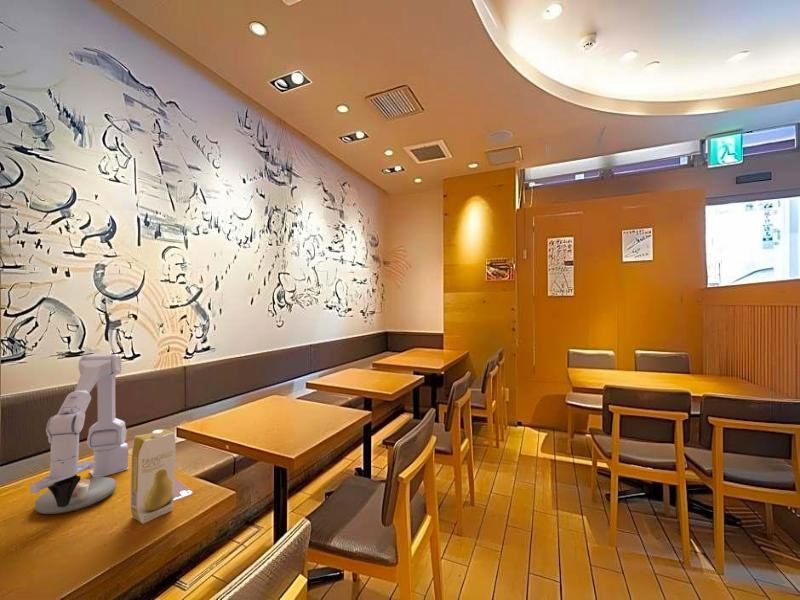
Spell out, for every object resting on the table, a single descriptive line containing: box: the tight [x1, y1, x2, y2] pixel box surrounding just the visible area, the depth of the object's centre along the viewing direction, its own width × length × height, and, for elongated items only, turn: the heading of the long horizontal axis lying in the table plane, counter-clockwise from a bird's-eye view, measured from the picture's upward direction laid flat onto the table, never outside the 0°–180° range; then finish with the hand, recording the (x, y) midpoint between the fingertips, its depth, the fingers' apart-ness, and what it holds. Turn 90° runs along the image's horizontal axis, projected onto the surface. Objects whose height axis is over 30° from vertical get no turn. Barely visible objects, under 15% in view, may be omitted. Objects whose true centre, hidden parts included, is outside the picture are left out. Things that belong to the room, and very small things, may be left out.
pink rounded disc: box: [71, 478, 90, 497], centre depth 105 cm, size 6×6×2 cm
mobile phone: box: [173, 477, 193, 503], centre depth 111 cm, size 8×1×15 cm
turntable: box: [34, 476, 117, 515], centre depth 105 cm, size 18×18×5 cm
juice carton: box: [130, 428, 176, 525], centre depth 99 cm, size 9×8×24 cm
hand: (63, 505), depth 96 cm, fingers closed
